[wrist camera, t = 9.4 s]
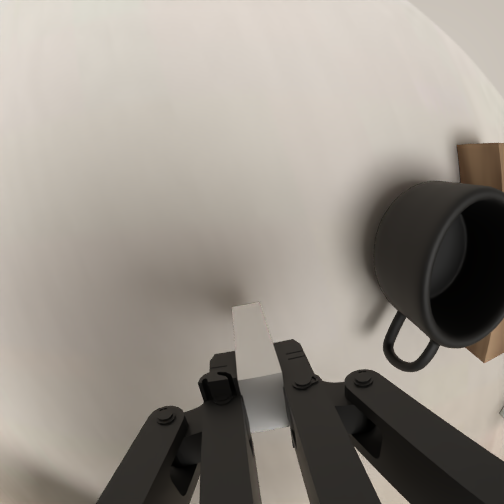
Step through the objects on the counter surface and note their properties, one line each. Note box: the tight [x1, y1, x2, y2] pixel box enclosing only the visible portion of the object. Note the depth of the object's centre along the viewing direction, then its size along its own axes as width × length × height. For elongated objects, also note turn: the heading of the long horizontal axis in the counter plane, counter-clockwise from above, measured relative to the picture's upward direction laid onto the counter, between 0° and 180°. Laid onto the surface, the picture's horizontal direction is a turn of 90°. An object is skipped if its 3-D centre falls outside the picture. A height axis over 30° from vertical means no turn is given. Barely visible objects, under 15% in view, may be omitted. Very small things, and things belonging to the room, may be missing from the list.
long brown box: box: [457, 143, 504, 363], centre depth 18 cm, size 3×16×5 cm, turn 9°
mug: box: [374, 181, 504, 372], centre depth 16 cm, size 12×9×7 cm
